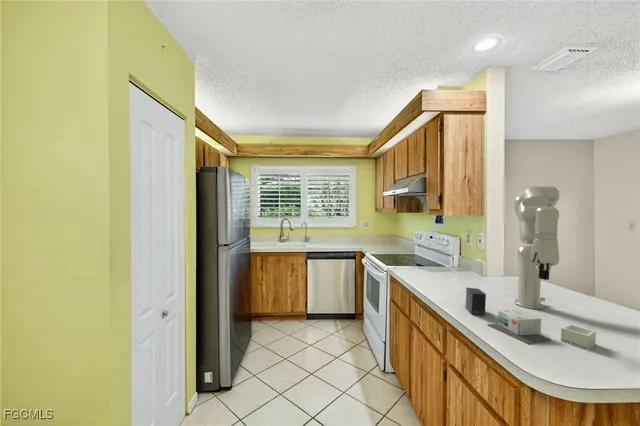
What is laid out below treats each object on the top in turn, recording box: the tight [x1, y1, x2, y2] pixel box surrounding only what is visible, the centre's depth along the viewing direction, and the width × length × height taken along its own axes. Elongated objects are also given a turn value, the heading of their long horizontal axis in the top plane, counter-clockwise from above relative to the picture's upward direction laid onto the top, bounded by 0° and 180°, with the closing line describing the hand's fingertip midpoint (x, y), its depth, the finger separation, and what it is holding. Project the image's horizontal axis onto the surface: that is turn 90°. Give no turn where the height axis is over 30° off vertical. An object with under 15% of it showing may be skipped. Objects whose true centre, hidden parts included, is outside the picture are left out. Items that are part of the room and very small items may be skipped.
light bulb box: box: [497, 308, 542, 335], centre depth 121 cm, size 11×7×11 cm
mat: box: [487, 322, 552, 345], centre depth 119 cm, size 12×18×1 cm, turn 18°
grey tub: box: [560, 323, 597, 350], centre depth 111 cm, size 8×8×5 cm
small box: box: [464, 287, 487, 316], centre depth 142 cm, size 11×6×10 cm, turn 168°
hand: (543, 278), depth 123 cm, fingers closed
